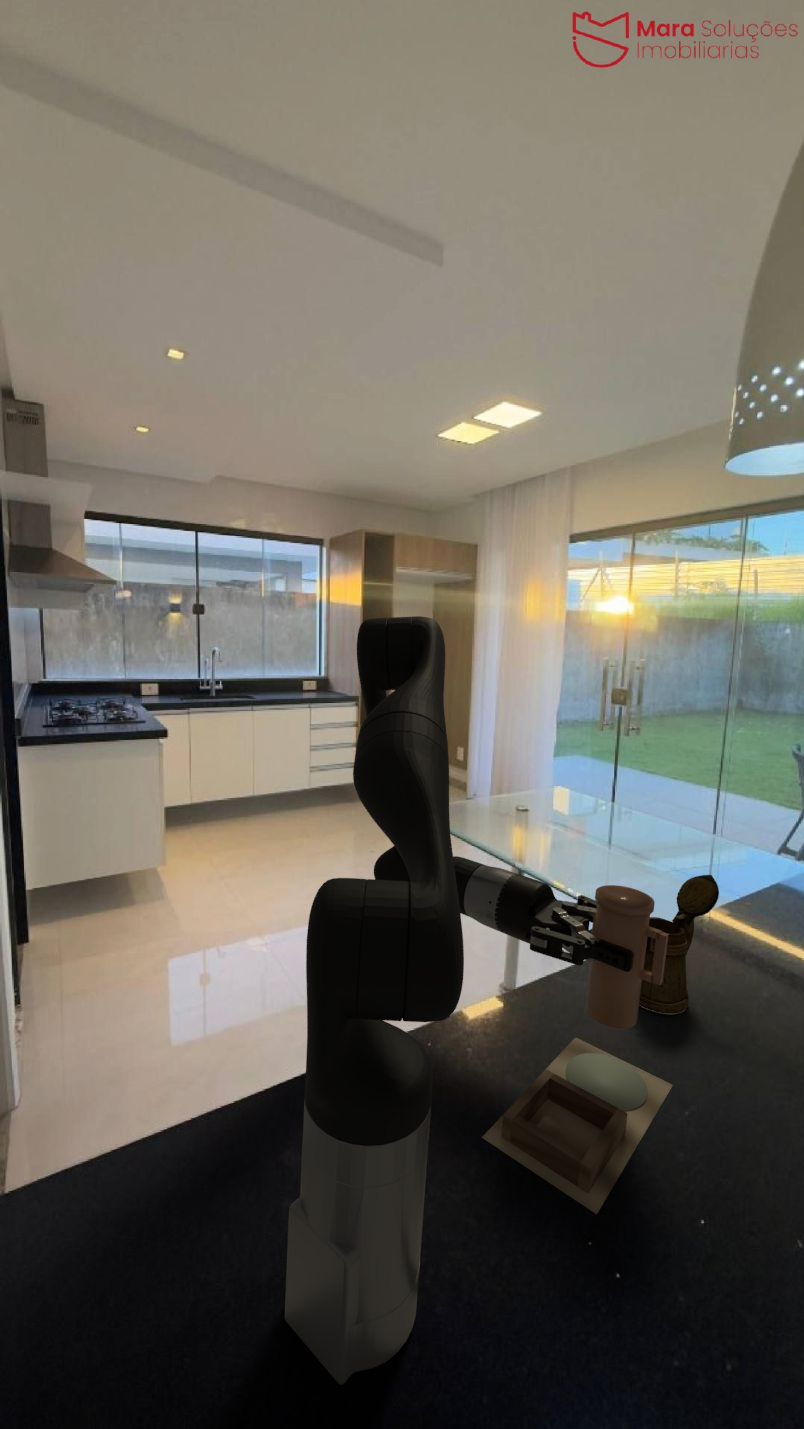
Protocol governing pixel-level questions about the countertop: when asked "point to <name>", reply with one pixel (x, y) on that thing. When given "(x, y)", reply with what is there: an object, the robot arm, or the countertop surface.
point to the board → (581, 1121)
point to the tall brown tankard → (628, 927)
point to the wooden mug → (677, 946)
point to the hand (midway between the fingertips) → (641, 951)
